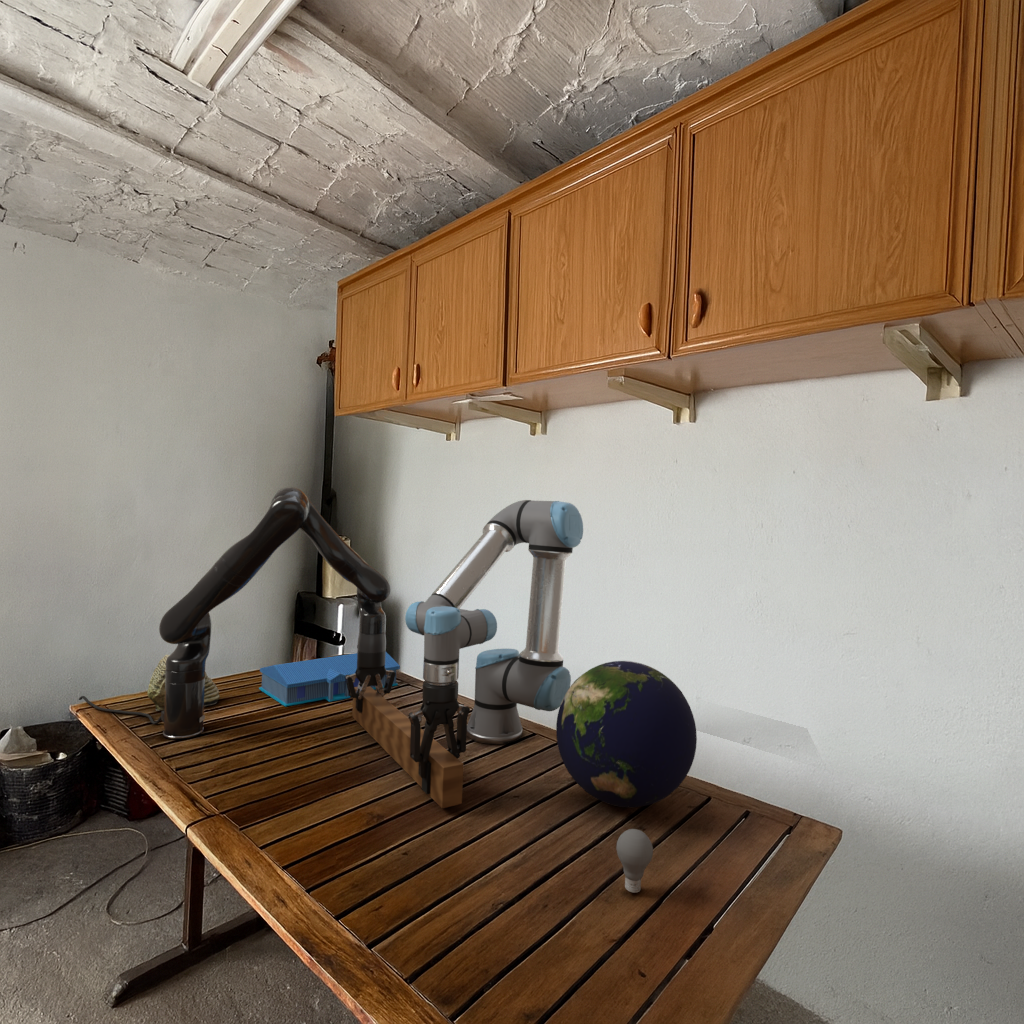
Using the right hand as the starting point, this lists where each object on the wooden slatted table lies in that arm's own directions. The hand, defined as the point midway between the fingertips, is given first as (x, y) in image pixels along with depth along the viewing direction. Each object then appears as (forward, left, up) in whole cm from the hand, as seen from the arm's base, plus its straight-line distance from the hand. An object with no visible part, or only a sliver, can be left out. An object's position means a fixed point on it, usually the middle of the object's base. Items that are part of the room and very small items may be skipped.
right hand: (437, 788), depth 135 cm
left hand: (-29, -33, +3) cm, 44 cm away
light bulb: (+18, +43, -2) cm, 47 cm away
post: (-15, -17, -1) cm, 22 cm away
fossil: (-25, -91, -2) cm, 94 cm away
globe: (-14, +38, -2) cm, 40 cm away
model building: (-57, -62, -2) cm, 84 cm away
